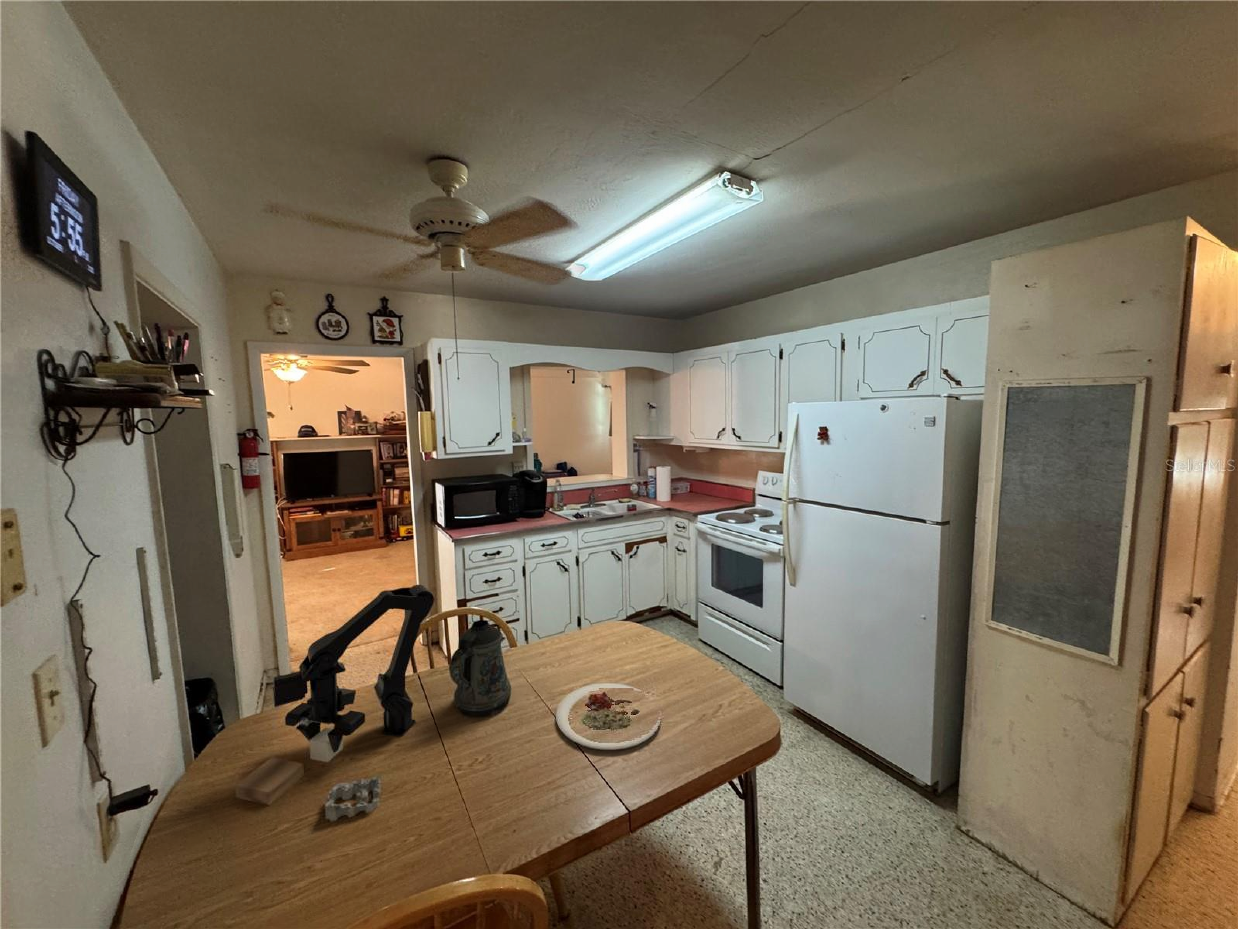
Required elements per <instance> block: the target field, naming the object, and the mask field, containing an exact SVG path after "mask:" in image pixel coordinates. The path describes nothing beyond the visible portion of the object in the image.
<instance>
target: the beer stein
mask: <svg viewBox="0 0 1238 929" xmlns="http://www.w3.org/2000/svg"><path fill="white" fill-rule="evenodd" d="M503 638H504V636H503V633H502V631H500V629H499V628H497V627H495V626H493V625H491V624H490V623H489V621H488V620H485V619H478V620H476V621H474V622H472V624H471V627H469V628H467V630H465V631H464V632H463V634H462V635H461V636H460V637H459V640H458V645H457V649H456V650H455V651H454V652H453V654H452V655H451V658H450V662H449V666H448V671H449V676H450V678H451V680H452V682H453V683H454V684H456V689H455V691H454V693H453V699H454V704H455V708H456V710H457V712H458V713H460V715H462V716H463V717H467V718H471V719H472V718H475V719H478V718H479V719H481V718H482V719H483V718H486V717H491V716H494V715H496V714H498V713H500V712H502V711H503V710H504V709H505V708H506V707H507V706H508V705H509V702H510V699H511V695H512V685H511V683H510V680H509V678H508V675H507V671H506V666H505V662H504V656H503V651H502V645H501V644H502V643H503V642H502V641H503Z"/></svg>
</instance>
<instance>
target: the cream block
mask: <svg viewBox="0 0 1238 929" xmlns="http://www.w3.org/2000/svg"><path fill="white" fill-rule="evenodd" d="M333 729H334V728H331V727H324V728H323V729H322V730H320V732H319V733H318V734H317V735H315V736H314V737H313V738H312V739H310V742H309V756H310V758H309V759H310V760H314V761H319V762H323V763H324V762H325V763H329V762H330V761H331V760H333V758H334V757H335V756H336V755H338V754H339V752H341V751H342V750H343V749H344V742H343V738H344V737H343V738H342V740H341V743H340V746H339V749H338V751H337V752H335V753H334V752H333V750H332V747H331V744H330V741H329V738H328V735H327V734H328V733H329V732H330V731H331V730H333Z"/></svg>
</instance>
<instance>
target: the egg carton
mask: <svg viewBox="0 0 1238 929" xmlns="http://www.w3.org/2000/svg"><path fill="white" fill-rule="evenodd" d="M381 781H382V780H381V775H377V776H374V777H371V778H366V779H363V778H361V779H359V780H354V781H353V780H352V781H350V782H340V783H337V784H336V785H334V786H333V787H332V788H331V789H330V790H329V792H328V796H327V798H326V802H325V805H324V808H323V809H324V811H325V819H326V820H330V822H335V821H337V820H338V819H339V818H340V817H342V816H348V818H351V817H354V816H356V814H358V813H359V812H362V811H363V812H365V813H366V814H369V813H372V812H373V810H374V809H376V808H379V804H380V803H379V798H380V795H381V783H382V782H381ZM370 792H372V800H371V802H370V803H369V793H370ZM354 795H355V798H356V800H355V803H356V804H355V805H354V806H352V804H351V803H350V802H344V803H339V804H337V803H335V801H336V800H337V799H339V798H341V800H343V801H345V800H346V801H347V800H349V799H351V798H352V797H354Z"/></svg>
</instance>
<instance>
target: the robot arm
mask: <svg viewBox="0 0 1238 929" xmlns="http://www.w3.org/2000/svg"><path fill="white" fill-rule="evenodd" d="M434 603H435V596H434V594H433V593H432V592H431V591H430V590H429V589H428V587H426V586H424V585H423V584H415V585H413V586H410V587H399V588H395V589H388V590H386V589H385V590H382V591H381V592H379V593H378V595H377V596H375V598H373V599H372V601H370V602H369V603H368V604H366V605H365V606H364V607H363V608H362V609H360V610H359V611H358V612H357V613H356V614H354V615H353V616H352V617H351V618H350V619H348V620H347V621H346V622H345V623H344V624H343V625H341V626H340V627H339V628H337V629H336V630H335V631H331V632H328V633H326V634H325V635H323V636H321V637H320V638H318V639H316V640H315V641H314V642H312V643H311V644H310V645H309V647H308V649H307V655H306V656H305V657H304V659H303V660H302V662H301V663H300V664H299V666H298V668H299V671H296V672H290V673H288V674H282V675H281V674H280V675H277V676H274V677H273V686H272V694H273V695H272V697H273V707H274V708H278V707H280V706H285V705H288V704H290V703H294V702H297V701H301V700H303V699H304V698H306V695H307V694H308V693H310V698H308V699H306V702H300V704H298V705H297V706H295V707H294V708H292V709H291V710H289V711H288V712H287V713H286V715H285V717H284V720H285V721H284V722H285V723H284V724H285V726H289V727H295V728H296V730H297V731H299V732H300V733H301V734H302V735H303V736H304V737H305V739H307V741H308V742H309V743H310V739H312V738H313V737H314V736H315V735H317V734H318V733H319V732H320V731H321V724H325V725H332V724H333V728H332V729H333V730H331V731H330V732H329V733H328V734H327V735H328V738H329V741H330V744H331V747H332V750H333V752H334V753H335V752H337V751H338V749H339V746H340V743H341V740H342V738H344V736H345V737H349V736H350V735H352V734H353V733H354V732H355V731H357V730H358V729H359V728H360V727H361V726H362V725H364V724H365V723H366V714H365V713H364V712H361V711H356V710H349V711H348V712H347V713H344V714H339V712H342V711H343V710H345V706H346V707H347V706H349V705H354V703H355V700H356V699H355V698H356V693H357V690H355V689H349V688H341V687H340V688H339V685H338V680H337V679H338V678H337V677H338V676H337V674H340V673H344V672H346V667H345V665H344V663H343V662H340V661H339V660H340V659H341V657H342V656H344V654H345V652H346V650H347V649H348V647H349V646H350V645H351V643H352V642H353V641H354V640H356V639H357V638H358V637H359V636H360V635H362V634H363V633H364V632H365V631H366V630H367V629H368V628H370V627H371V626H372V625H373V624H374V623H375V622H376V621H377V620H379V619H380V618H381V617H383V615H385V614H387V612H388V611H389V610H404V619H403V621H402V626H401V628H400V632H399V634H398V638H397V641H396V644H395V646H394V647H395V648H394V650H393V653H392V657H391V660H390V663H389V667H388V668H387V670H386V671H385V672H384V673H378V675H377V680H376V683H375V685H374V686H373V689H374V691H375V695H376V698H377V700H378V702H379V704H380V706H381V708H382V709H383V710H384V711H383V713H382V714H383V715H382V716H383V717H382V718H383V728H382V729H381V730H380V733H381V734H385V735H391V736H396V737H403V736H404V735H405V734H406V733H407V732H408V731H409V730H410V729H411V728H412V727H413V726H414V724H416V722H417V721H416V719H413V714H412V713H413V711H412V710H413V706H414V703H413V700H412V699H411V697H410V696H409V694H408V692H407V691H406V672H407V668H408V667H409V663H410V661H411V656H412V654H413V650H414V647H415V644H416V642H417V638H418V635H419V631H420V628H421V624H422V623H423V621H424V620H425V619H426V618H427V616H428V615H429V613H430V612H431V610H432V608H433V607H434V606H433V605H434ZM308 682H309V687H310V688H309V689H310V692H308Z"/></svg>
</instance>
